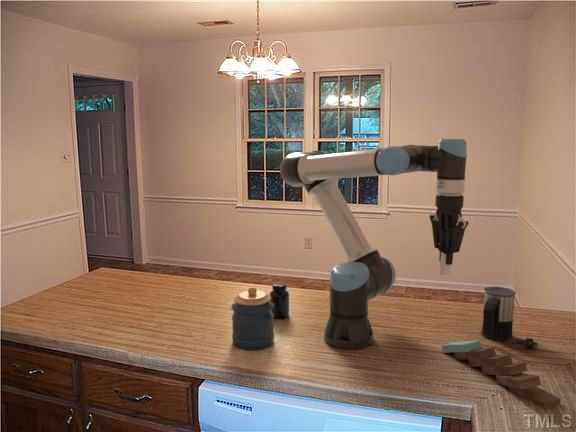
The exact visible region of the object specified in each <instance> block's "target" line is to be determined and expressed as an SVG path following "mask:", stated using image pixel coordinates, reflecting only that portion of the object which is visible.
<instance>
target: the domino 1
mask: <svg viewBox="0 0 576 432" xmlns="http://www.w3.org/2000/svg"><path fill="white" fill-rule="evenodd" d="M440 348H441V350H442V353H443V354H444V353H454V352H469V351H472V350H476V349H479V348H483V347H482V343H481V340H464V341H453V342H450V343H446V344H442V345H441V347H440Z"/></svg>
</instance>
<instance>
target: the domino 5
mask: <svg viewBox="0 0 576 432" xmlns="http://www.w3.org/2000/svg"><path fill="white" fill-rule="evenodd" d="M495 379H496V383H497V384H499V385H502V386H506V387H509V386H510V387H514V388H518V389H521V390H522V389H526V388H530V387H535V386H537V387H540V386H541V385H542V382H541V378H540V376H539V375H536V374H528V373H526V372H522V373H519V374H516V375H495Z"/></svg>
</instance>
